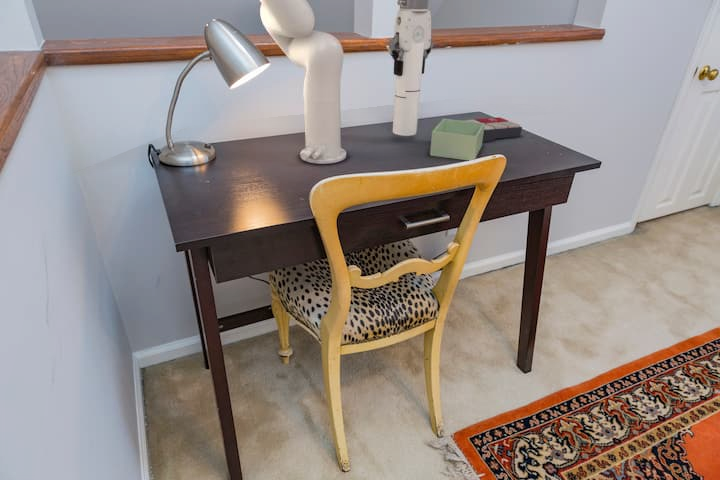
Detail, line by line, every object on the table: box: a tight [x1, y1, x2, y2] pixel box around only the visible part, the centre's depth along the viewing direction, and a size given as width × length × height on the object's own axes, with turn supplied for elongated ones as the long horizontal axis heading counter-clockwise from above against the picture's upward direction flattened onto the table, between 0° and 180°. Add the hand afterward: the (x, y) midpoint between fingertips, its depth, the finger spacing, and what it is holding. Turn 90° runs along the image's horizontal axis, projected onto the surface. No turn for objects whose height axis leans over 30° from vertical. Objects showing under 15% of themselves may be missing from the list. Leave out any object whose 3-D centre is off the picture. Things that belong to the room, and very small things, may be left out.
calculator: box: [464, 116, 523, 143], centre depth 152 cm, size 11×4×15 cm
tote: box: [429, 118, 485, 161], centre depth 138 cm, size 14×12×7 cm
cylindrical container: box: [392, 42, 424, 137], centre depth 139 cm, size 7×7×25 cm
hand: (408, 73), depth 137 cm, fingers closed on cylindrical container, 7 cm apart
